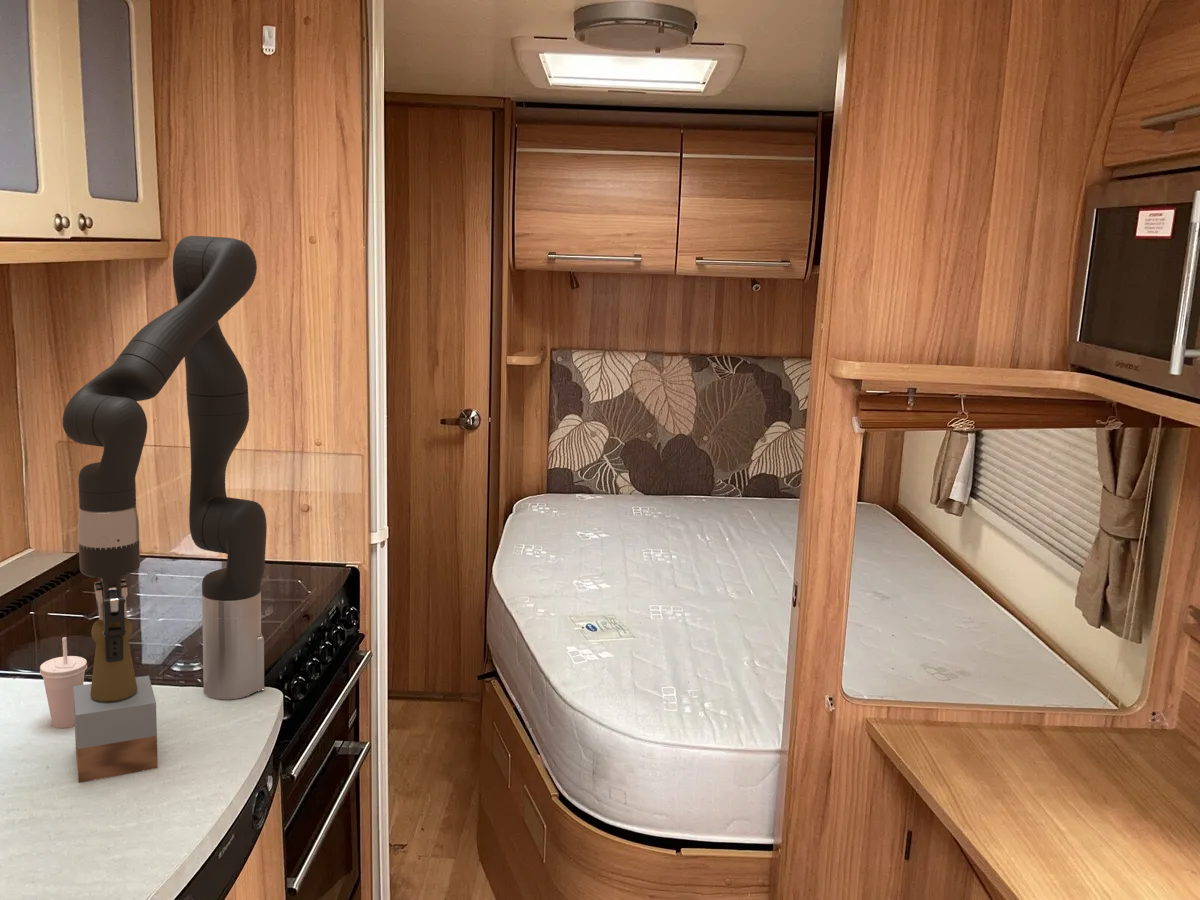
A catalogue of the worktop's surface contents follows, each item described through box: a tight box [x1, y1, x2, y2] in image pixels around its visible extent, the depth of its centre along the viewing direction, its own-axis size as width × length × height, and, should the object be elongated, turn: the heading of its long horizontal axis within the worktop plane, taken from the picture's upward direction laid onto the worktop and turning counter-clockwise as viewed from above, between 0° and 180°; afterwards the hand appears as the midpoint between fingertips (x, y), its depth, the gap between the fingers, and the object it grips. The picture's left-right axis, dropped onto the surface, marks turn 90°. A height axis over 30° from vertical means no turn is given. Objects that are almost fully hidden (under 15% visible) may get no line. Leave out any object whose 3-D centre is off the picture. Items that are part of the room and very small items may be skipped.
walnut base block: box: [74, 729, 159, 784], centre depth 140 cm, size 10×10×5 cm
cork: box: [90, 617, 137, 701], centre depth 138 cm, size 6×6×11 cm
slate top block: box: [73, 675, 158, 749], centre depth 139 cm, size 10×10×5 cm
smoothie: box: [39, 636, 88, 729], centre depth 149 cm, size 6×6×14 cm
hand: (113, 652), depth 138 cm, fingers closed on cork, 5 cm apart
